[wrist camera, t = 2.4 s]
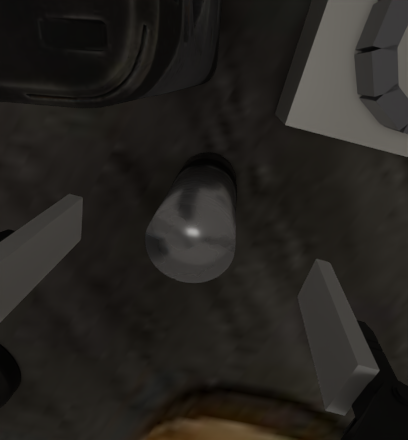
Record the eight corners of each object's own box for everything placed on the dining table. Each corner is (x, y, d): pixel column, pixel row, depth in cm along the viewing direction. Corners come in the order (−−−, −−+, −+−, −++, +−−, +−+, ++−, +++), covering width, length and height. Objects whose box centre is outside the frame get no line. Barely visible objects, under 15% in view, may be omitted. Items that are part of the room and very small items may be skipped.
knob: (175, 198, 29) (138, 271, 18) (186, 145, 27) (151, 192, 16) (228, 212, 29) (222, 292, 18) (243, 160, 27) (248, 217, 16)
